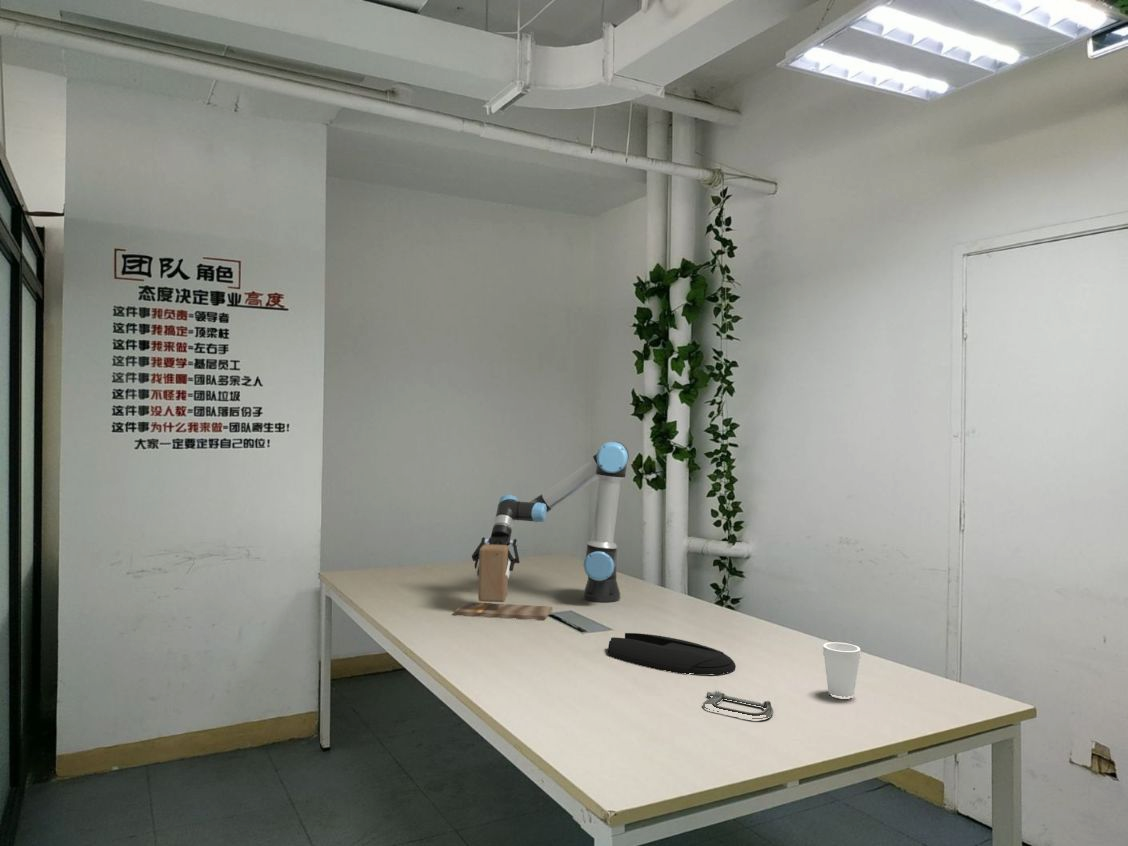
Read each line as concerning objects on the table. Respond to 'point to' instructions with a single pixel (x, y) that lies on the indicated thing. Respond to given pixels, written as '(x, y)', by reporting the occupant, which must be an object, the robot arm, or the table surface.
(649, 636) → the black notched oval shell
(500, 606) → the floor board
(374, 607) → the table surface
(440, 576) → the table surface
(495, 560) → the wooden block
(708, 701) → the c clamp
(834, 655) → the foam cup
